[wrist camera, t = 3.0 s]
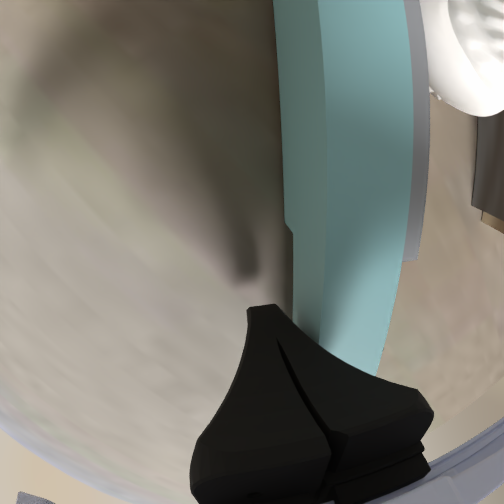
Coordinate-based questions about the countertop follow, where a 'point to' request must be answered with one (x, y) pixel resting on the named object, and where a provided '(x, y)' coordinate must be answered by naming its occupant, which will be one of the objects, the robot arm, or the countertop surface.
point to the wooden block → (490, 170)
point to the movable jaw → (352, 162)
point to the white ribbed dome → (466, 53)
